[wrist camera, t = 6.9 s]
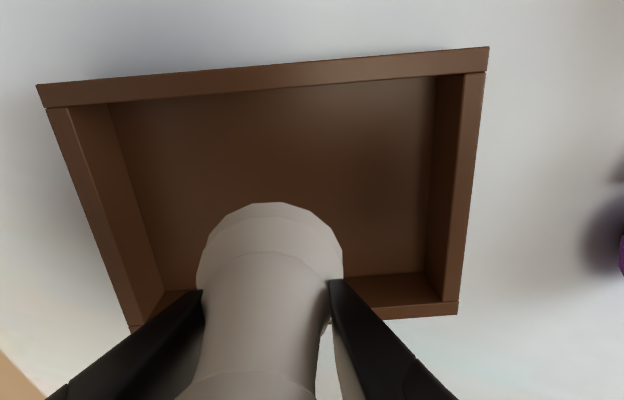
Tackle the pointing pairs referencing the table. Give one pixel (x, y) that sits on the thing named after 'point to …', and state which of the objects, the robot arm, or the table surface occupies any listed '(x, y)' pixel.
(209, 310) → the rook chess piece
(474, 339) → the table surface
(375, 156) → the tray
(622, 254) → the kendama
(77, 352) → the table surface
